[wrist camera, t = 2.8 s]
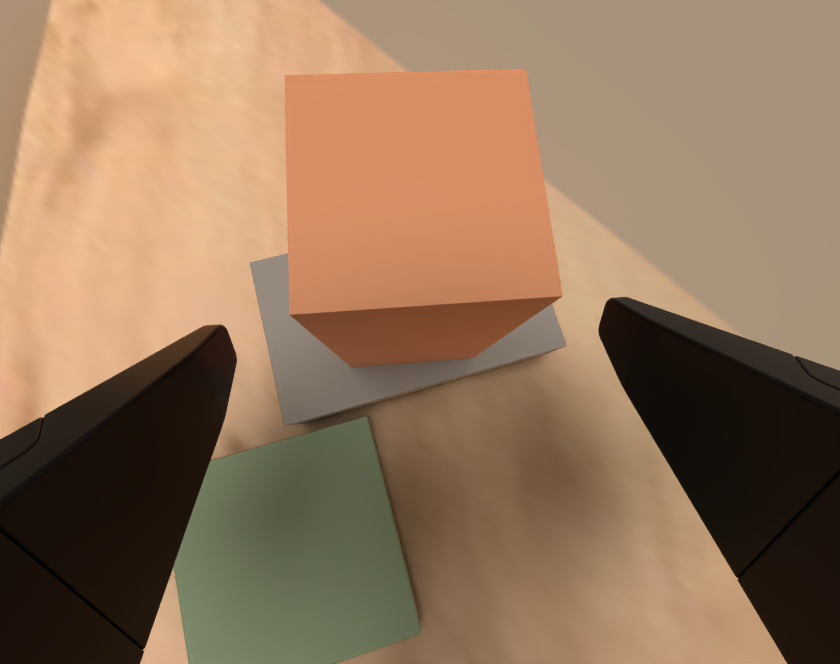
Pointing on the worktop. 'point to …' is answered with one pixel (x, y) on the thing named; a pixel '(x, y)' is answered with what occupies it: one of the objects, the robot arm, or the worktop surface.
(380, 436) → the worktop surface
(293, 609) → the green mat
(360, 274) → the terracotta block
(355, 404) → the slate block
